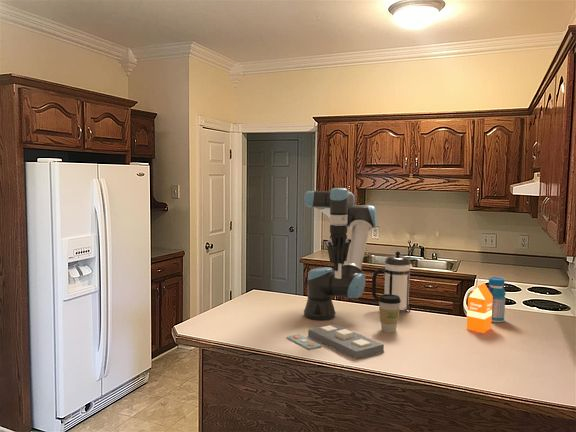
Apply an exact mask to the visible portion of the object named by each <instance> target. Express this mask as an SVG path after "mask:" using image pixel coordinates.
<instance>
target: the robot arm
mask: <svg viewBox="0 0 576 432" xmlns="http://www.w3.org/2000/svg"><path fill="white" fill-rule="evenodd" d="M355 201H356V198H355V195H354V194H353V192H351V191H349V190H348V189H347V188H345V187H336V188H335V187H334V188H331V189H330V191H329V190H327V191H326V190H325V191H324V190H323V191H322V190H308V191H306V192H305V195H304V205H305V207H307V208H315V209H316V210H318V211H320V212H321V213H323V214H324V215H325V216H326V217H327V219H328V220H329V224H330V225H329V233H330V236H329V239H328V240H326V241H325V242H324V243H325V245H326V248H327V253H328V257H329V262H330V263H333V268H332V267H330V266H328V267H327V266H325V267H316V268H312V269H310V270H308V273H307V274H308V275H307V301H306V304H305V307H304V310H303V316H304V317H305V318H306V319H309V320H313V321H329V320H332V319H335V317H336V311H335V306H334V303H333V297H340V298H348V299H359V298H360V297H361V296H362V295H363V293H364V290H365V288H366V279H367V278H366V275H365V274H364V271H363V269H362V266H363V261H364V256H365V252H366V247H367V241H368V237H369V234H371V233H372V231H373V229H376V228H377V226H378V215H377V209H376V207H375V206H374V205H368V204H366V205H363V204H362V205H359V204H355ZM348 227H349V228H350V230H351V233H350V236H349V237H348V235H347V234H348Z"/></svg>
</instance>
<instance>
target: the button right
mask: <svg viewBox="0 0 576 432" xmlns="http://www.w3.org/2000/svg"><path fill="white" fill-rule="evenodd" d="M352 344H354V345H356V346H358V347H360V348H362V347H366V346H370V345H371V343H370V342H368V341H365V340H363V339H360V340H355V341H352Z"/></svg>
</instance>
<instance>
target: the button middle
mask: <svg viewBox="0 0 576 432" xmlns="http://www.w3.org/2000/svg"><path fill="white" fill-rule="evenodd" d="M346 329H347V328H345V329H343V330H338V331H336V337H338V338H340V339H342V340H346V339H350V338H353V332H354V331H352V330H350V329H348V330H346ZM349 330H350V331H349ZM351 331H352V332H351Z"/></svg>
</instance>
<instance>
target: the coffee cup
mask: <svg viewBox="0 0 576 432" xmlns="http://www.w3.org/2000/svg"><path fill="white" fill-rule="evenodd" d="M378 297H379V299H378V300H377V301H378V305H379V309H378V310H379V319H380V326H381V327H380V328H381V331H382V332H384V333H395V332H396V331H397V324H398V321H399V314H400V310H399V305H400V302H401V300H400V297H399V296H397V295H392V294H380V295H379V296H378Z"/></svg>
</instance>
